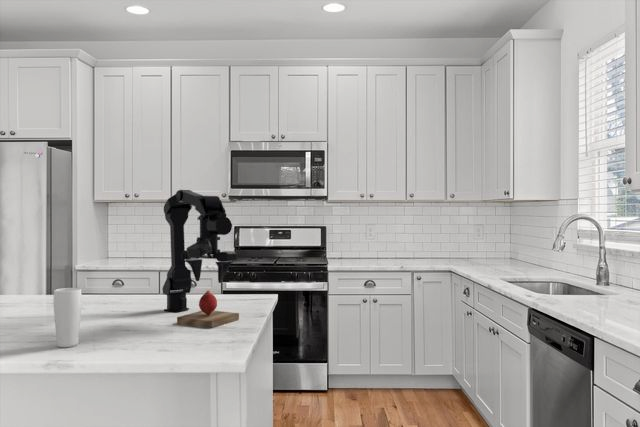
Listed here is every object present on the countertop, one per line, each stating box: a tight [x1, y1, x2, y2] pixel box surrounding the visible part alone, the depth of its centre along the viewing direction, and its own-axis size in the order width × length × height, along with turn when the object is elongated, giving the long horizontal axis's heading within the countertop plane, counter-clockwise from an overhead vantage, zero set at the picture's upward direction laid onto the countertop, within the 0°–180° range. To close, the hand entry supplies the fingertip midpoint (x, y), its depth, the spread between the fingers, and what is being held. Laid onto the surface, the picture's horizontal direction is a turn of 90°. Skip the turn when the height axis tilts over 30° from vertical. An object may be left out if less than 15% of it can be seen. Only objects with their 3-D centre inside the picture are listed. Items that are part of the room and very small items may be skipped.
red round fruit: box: [198, 289, 218, 315], centre depth 167 cm, size 6×6×8 cm
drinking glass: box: [52, 287, 83, 349], centre depth 137 cm, size 7×7×15 cm
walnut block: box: [176, 310, 240, 329], centre depth 167 cm, size 14×14×3 cm
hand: (208, 281), depth 167 cm, fingers open, 9 cm apart
